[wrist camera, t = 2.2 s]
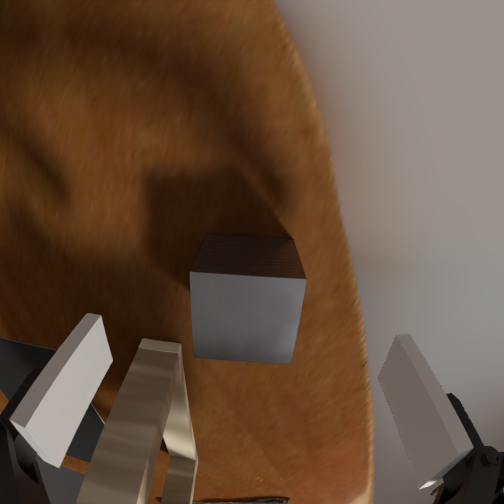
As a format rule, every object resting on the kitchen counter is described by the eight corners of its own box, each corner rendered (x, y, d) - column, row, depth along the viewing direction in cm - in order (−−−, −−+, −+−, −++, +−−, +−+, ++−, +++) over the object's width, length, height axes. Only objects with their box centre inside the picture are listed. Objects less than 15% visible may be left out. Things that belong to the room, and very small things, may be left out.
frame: (142, 338, 20) (68, 521, 6) (181, 343, 20) (126, 543, 6) (173, 456, 28) (155, 559, 14) (198, 460, 28) (184, 565, 14)
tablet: (144, 477, 32) (47, 447, 32) (145, 473, 32) (48, 444, 33) (61, 351, 21) (-36, 327, 22) (65, 346, 22) (-33, 324, 22)
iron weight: (207, 232, 17) (189, 271, 12) (293, 238, 17) (306, 279, 12) (207, 305, 19) (194, 357, 14) (283, 310, 19) (290, 363, 14)
